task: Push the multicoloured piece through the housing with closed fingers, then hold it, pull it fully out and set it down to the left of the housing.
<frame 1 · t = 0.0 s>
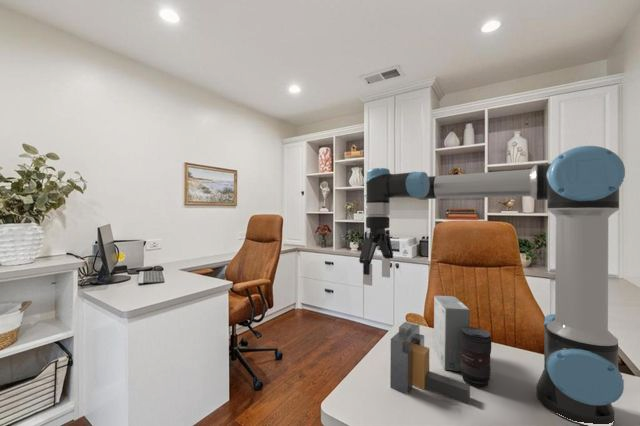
hand: (377, 280, 92), 28 cm above the table, tool pointing down, fingers open, 13 cm apart
camera lens: (475, 382, 84), on the table
hard drive box: (450, 360, 97), on the table
housing: (408, 378, 85), on the table
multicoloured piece: (418, 382, 84), on the table
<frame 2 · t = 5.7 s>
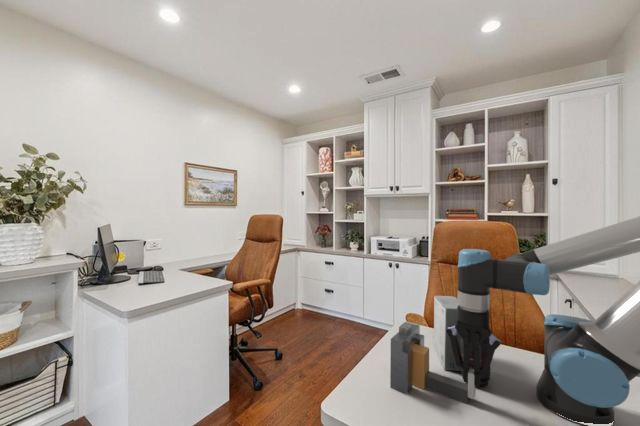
hand: (471, 395, 75), 2 cm above the table, tool pointing down, fingers closed
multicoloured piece: (417, 382, 84), on the table, touching gripper
everything else where it was.
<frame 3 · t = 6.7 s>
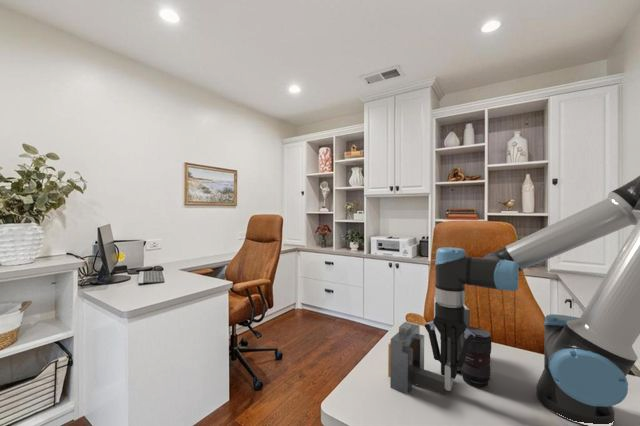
hand: (448, 387, 79), 2 cm above the table, tool pointing down, fingers closed
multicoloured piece: (399, 375, 87), on the table, touching gripper
everything else where it was.
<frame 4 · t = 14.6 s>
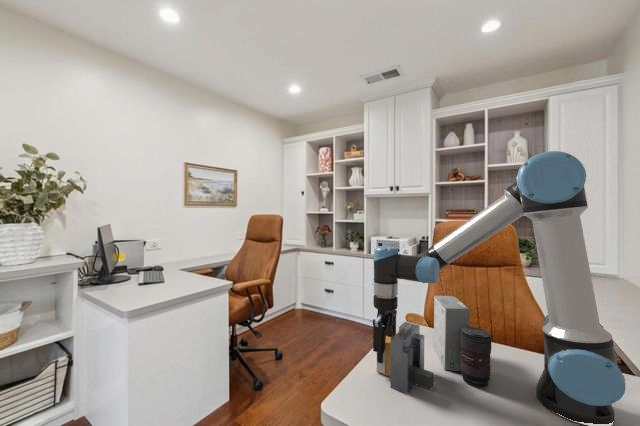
hand: (384, 367, 90), 1 cm above the table, tool pointing down, fingers closed on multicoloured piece, 5 cm apart
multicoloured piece: (387, 371, 89), on the table, touching gripper
everything else where it was.
when the fingers open (2 cm above the table, at t = 22.3 s): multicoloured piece drops 2 cm, on the table.
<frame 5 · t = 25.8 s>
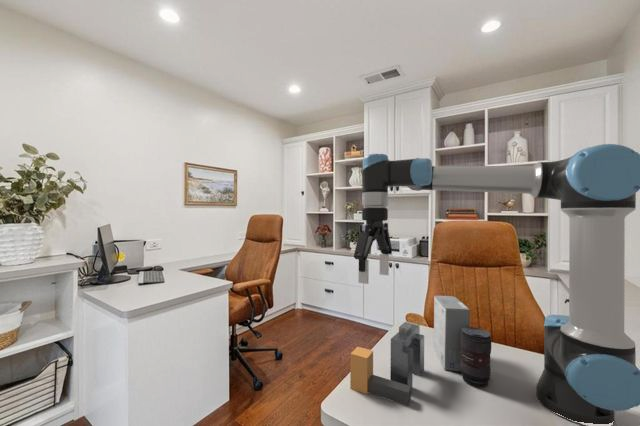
hand: (374, 278, 84), 31 cm above the table, tool pointing down, fingers open, 13 cm apart
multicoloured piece: (361, 386, 81), on the table
everything else where it was.
at the end: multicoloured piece inside the target area (0.4 cm from its centre), on the table; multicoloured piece touching table; the gripper is holding nothing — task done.
